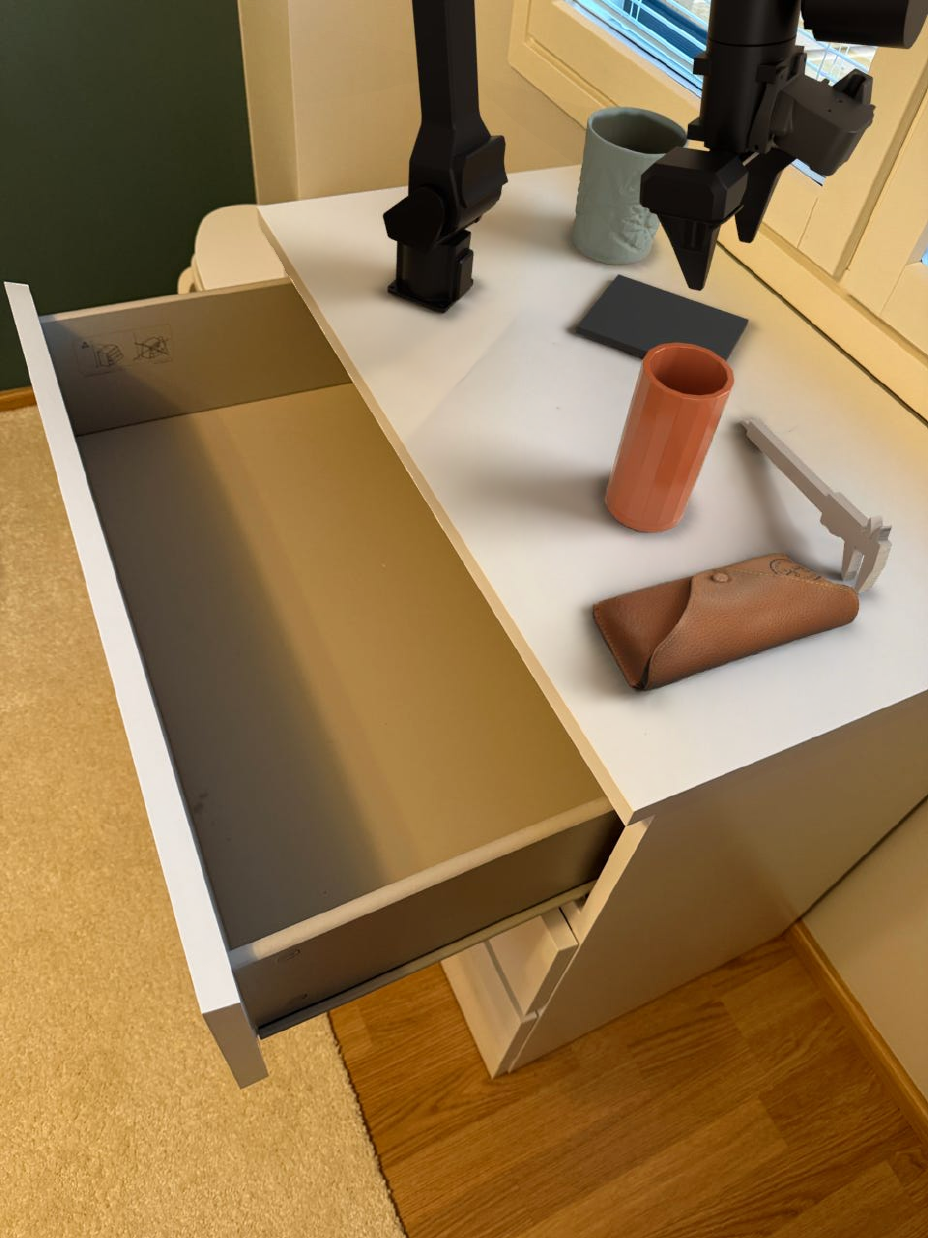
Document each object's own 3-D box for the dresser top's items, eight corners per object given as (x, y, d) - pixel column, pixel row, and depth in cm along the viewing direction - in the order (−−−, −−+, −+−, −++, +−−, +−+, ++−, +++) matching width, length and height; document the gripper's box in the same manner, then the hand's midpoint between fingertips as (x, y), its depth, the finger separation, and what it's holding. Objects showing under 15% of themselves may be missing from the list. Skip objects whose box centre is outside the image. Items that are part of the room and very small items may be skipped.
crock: (593, 512, 74) (629, 377, 63) (622, 466, 77) (661, 332, 67) (668, 543, 72) (718, 411, 62) (694, 495, 76) (745, 362, 66)
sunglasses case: (783, 545, 72) (840, 523, 66) (813, 631, 72) (873, 617, 65) (582, 606, 67) (623, 589, 60) (613, 699, 66) (657, 692, 60)
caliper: (866, 596, 70) (904, 539, 66) (854, 598, 70) (891, 541, 65) (749, 422, 82) (773, 364, 77) (738, 424, 82) (762, 365, 77)
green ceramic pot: (560, 217, 102) (581, 102, 93) (650, 221, 103) (678, 108, 94) (573, 267, 96) (595, 149, 87) (667, 272, 97) (700, 156, 88)
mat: (575, 333, 89) (576, 325, 88) (616, 280, 95) (618, 273, 94) (713, 384, 85) (715, 376, 85) (746, 326, 92) (749, 319, 91)
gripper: (820, 90, 52) (774, 342, 63) (921, 7, 63) (866, 237, 74) (643, 69, 57) (629, 307, 68) (763, -4, 68) (734, 213, 79)
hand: (721, 264), depth 72 cm, fingers open, 9 cm apart
